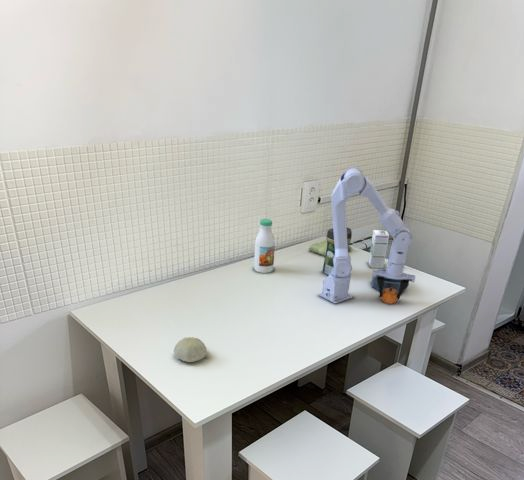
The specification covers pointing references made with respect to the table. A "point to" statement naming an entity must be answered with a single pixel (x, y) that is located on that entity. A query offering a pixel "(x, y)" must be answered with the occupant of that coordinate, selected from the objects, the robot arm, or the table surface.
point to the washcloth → (320, 247)
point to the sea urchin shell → (190, 349)
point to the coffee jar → (332, 250)
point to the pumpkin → (389, 295)
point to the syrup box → (378, 249)
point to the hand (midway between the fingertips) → (389, 297)
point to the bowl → (386, 283)
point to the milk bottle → (264, 248)
